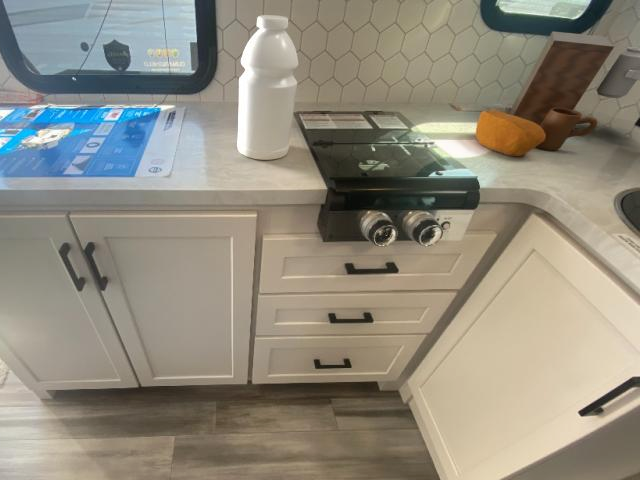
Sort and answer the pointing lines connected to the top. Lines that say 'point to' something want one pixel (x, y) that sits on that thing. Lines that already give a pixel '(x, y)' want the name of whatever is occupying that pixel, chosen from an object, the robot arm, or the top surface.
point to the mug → (563, 127)
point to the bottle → (267, 91)
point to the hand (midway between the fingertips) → (623, 70)
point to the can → (620, 74)
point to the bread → (508, 133)
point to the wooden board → (561, 74)
